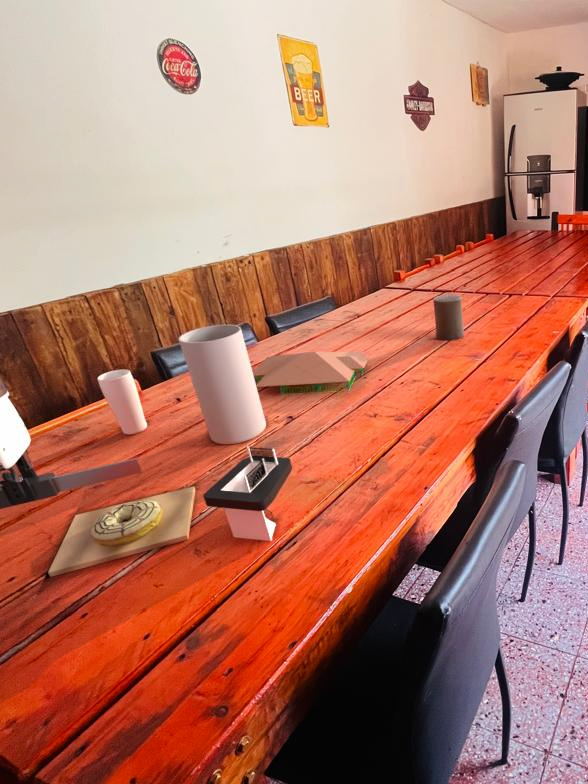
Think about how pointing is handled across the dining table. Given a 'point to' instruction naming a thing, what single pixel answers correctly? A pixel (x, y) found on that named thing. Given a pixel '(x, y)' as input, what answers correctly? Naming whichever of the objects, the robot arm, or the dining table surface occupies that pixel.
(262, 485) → the black-topped pedestal
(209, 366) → the cylinder vase
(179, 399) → the dining table surface
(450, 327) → the pillar candle
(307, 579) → the dining table surface
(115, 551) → the cutting board
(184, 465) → the dining table surface
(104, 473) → the knife
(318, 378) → the house
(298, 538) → the dining table surface
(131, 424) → the white mug
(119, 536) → the decorated donut
